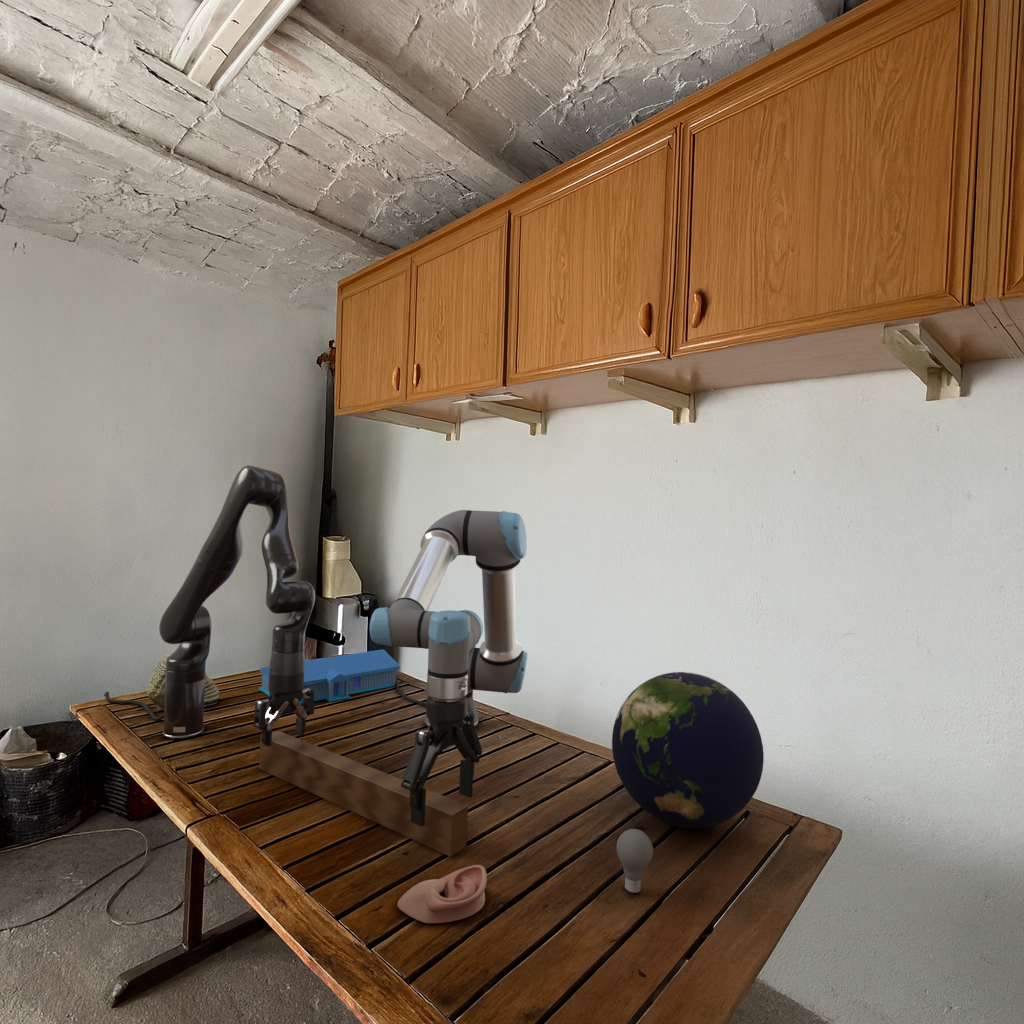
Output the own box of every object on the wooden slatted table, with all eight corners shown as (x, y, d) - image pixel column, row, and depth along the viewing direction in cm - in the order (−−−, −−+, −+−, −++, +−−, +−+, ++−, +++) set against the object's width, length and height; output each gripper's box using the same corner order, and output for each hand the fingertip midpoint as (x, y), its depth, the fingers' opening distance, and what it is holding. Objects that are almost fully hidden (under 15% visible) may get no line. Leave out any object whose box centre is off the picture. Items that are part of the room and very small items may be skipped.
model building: (289, 709, 186) (291, 675, 185) (258, 688, 204) (259, 657, 204) (403, 687, 212) (405, 657, 212) (366, 670, 230) (368, 643, 230)
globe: (592, 836, 122) (599, 682, 122) (625, 776, 150) (631, 650, 149) (758, 877, 111) (767, 707, 110) (760, 804, 139) (767, 668, 138)
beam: (259, 768, 146) (260, 736, 146) (276, 762, 150) (277, 730, 150) (450, 857, 113) (452, 815, 113) (466, 846, 117) (468, 805, 117)
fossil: (144, 707, 182) (145, 655, 182) (212, 696, 194) (213, 647, 194) (151, 716, 175) (153, 662, 175) (221, 703, 188) (223, 653, 188)
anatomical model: (390, 891, 96) (416, 850, 108) (389, 917, 96) (415, 874, 108) (474, 906, 94) (492, 863, 105) (473, 932, 94) (491, 887, 105)
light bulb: (610, 879, 108) (613, 822, 108) (644, 879, 109) (647, 822, 109) (619, 902, 102) (622, 840, 102) (655, 901, 103) (658, 840, 103)
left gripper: (269, 679, 136) (265, 754, 136) (323, 666, 147) (320, 735, 148) (248, 672, 140) (245, 744, 140) (303, 660, 152) (299, 727, 152)
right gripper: (415, 719, 105) (410, 844, 106) (502, 684, 125) (498, 790, 126) (383, 708, 109) (379, 829, 110) (472, 676, 130) (468, 778, 130)
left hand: (283, 740), depth 144 cm, fingers open, 8 cm apart
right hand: (442, 808), depth 118 cm, fingers open, 13 cm apart
